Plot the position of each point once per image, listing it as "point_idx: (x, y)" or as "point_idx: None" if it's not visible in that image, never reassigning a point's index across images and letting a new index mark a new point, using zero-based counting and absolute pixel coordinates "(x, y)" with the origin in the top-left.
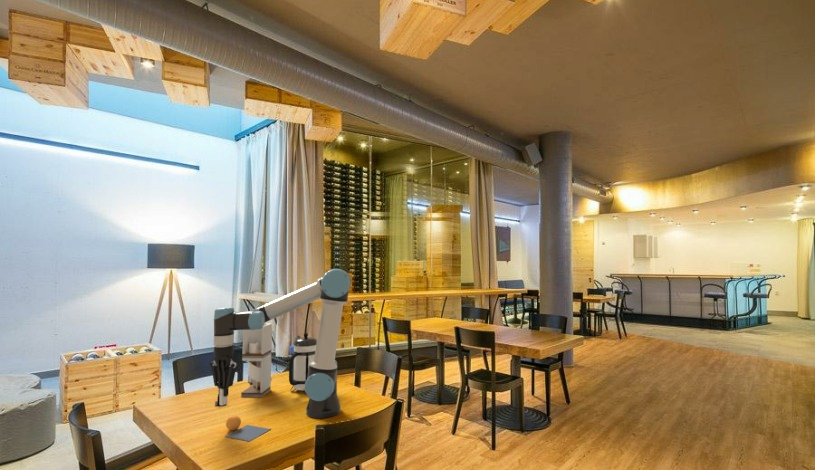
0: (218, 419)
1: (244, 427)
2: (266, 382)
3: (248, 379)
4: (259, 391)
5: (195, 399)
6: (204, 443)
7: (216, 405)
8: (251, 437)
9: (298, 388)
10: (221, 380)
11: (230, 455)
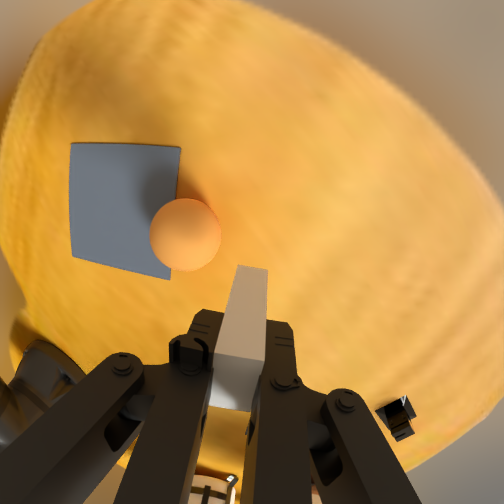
0: (340, 316)
1: None
2: None
3: None
4: None
5: (466, 405)
6: (224, 68)
7: (403, 401)
8: (79, 171)
9: (207, 479)
10: (250, 463)
11: (77, 45)
